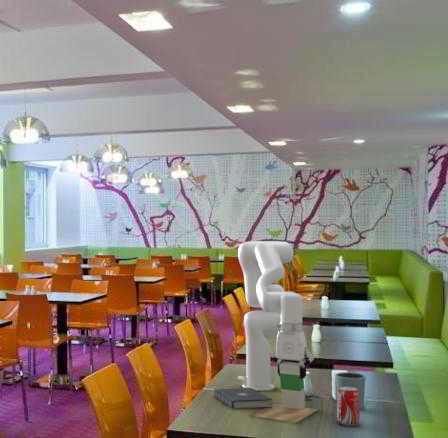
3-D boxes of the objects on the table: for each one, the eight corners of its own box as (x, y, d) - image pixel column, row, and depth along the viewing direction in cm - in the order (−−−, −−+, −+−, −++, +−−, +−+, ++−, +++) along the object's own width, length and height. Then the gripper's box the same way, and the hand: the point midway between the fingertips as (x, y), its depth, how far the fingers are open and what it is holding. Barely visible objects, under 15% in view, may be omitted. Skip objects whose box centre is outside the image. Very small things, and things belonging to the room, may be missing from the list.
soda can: (333, 421, 263) (333, 386, 263) (353, 421, 263) (353, 385, 264) (342, 427, 256) (342, 390, 256) (363, 426, 256) (363, 390, 257)
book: (214, 396, 301) (213, 389, 301) (251, 395, 302) (251, 387, 302) (232, 409, 279) (232, 400, 280) (272, 407, 281) (271, 399, 281)
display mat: (250, 416, 270) (250, 415, 270) (274, 404, 287) (274, 403, 287) (296, 423, 260) (296, 422, 260) (317, 411, 278) (317, 409, 278)
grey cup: (365, 405, 286) (364, 373, 286) (366, 412, 276) (366, 378, 276) (335, 403, 289) (335, 371, 289) (336, 410, 279) (336, 376, 279)
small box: (350, 402, 292) (350, 374, 292) (335, 401, 293) (335, 373, 293) (347, 397, 300) (347, 370, 300) (331, 396, 301) (331, 369, 301)
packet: (279, 365, 279) (283, 361, 282) (282, 407, 282) (286, 403, 285) (298, 367, 275) (302, 363, 278) (301, 410, 277) (305, 405, 280)
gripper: (264, 327, 282) (264, 376, 282) (311, 330, 271) (312, 381, 271) (272, 325, 288) (272, 373, 288) (319, 328, 277) (319, 378, 277)
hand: (291, 376), depth 279 cm, fingers closed on packet, 7 cm apart
